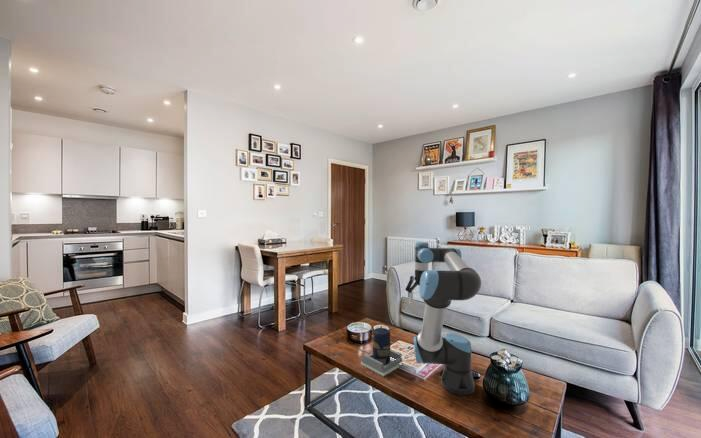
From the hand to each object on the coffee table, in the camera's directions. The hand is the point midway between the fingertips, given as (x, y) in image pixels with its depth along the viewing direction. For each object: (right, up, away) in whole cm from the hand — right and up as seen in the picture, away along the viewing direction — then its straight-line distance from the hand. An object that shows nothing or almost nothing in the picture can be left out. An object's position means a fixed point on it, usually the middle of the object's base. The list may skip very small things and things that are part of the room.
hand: (421, 306), depth 167 cm
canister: (-24, -28, -9) cm, 37 cm away
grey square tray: (-24, -29, -9) cm, 38 cm away
